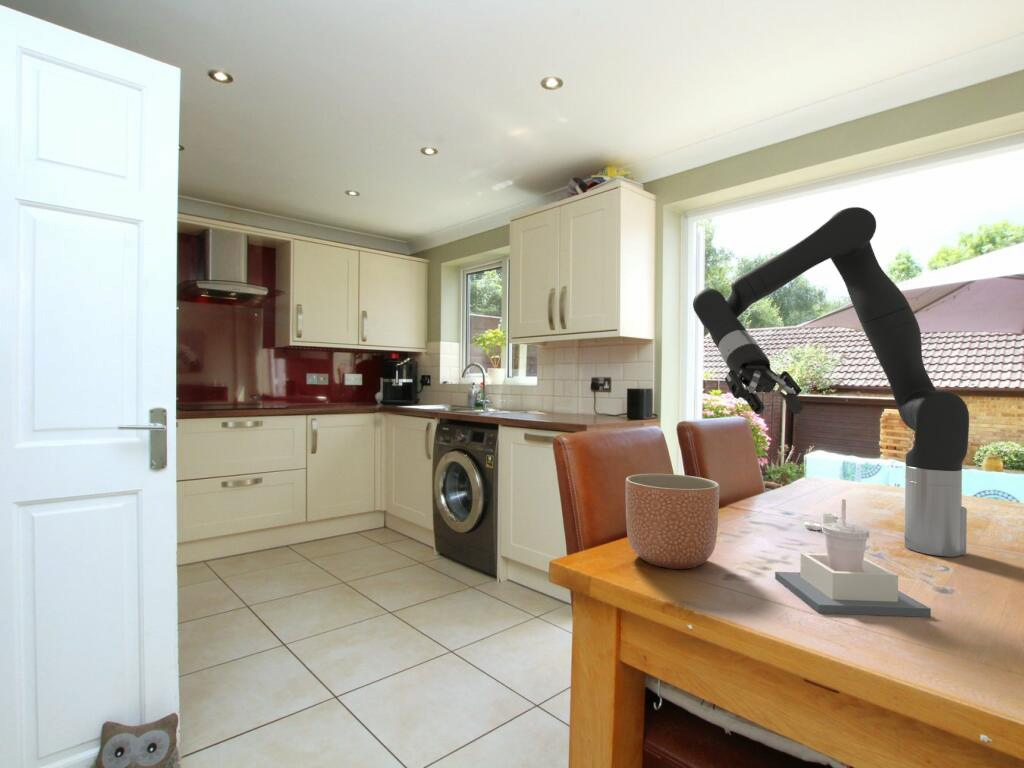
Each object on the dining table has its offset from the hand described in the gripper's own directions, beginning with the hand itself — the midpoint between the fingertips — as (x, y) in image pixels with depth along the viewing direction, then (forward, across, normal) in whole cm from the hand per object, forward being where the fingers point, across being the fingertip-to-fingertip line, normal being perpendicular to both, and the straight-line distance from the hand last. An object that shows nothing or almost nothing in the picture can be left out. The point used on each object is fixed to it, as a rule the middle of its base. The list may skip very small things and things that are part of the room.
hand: (780, 411), depth 102 cm
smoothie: (+32, -2, +7) cm, 33 cm away
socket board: (+33, -2, +8) cm, 34 cm away
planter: (+18, -21, +22) cm, 36 cm away
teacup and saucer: (+7, +28, +35) cm, 45 cm away
